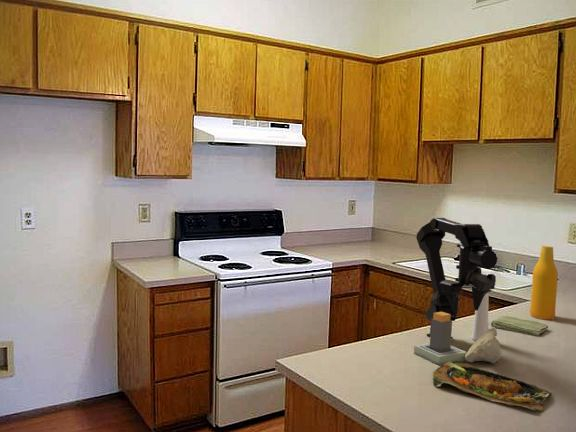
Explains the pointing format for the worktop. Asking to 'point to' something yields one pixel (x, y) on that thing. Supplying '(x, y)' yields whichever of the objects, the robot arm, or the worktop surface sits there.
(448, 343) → the plug
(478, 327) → the cosmetic bottle
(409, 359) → the worktop surface
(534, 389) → the prepared meal
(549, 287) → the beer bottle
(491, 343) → the cheese
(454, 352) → the box
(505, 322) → the washcloth
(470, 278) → the robot arm
